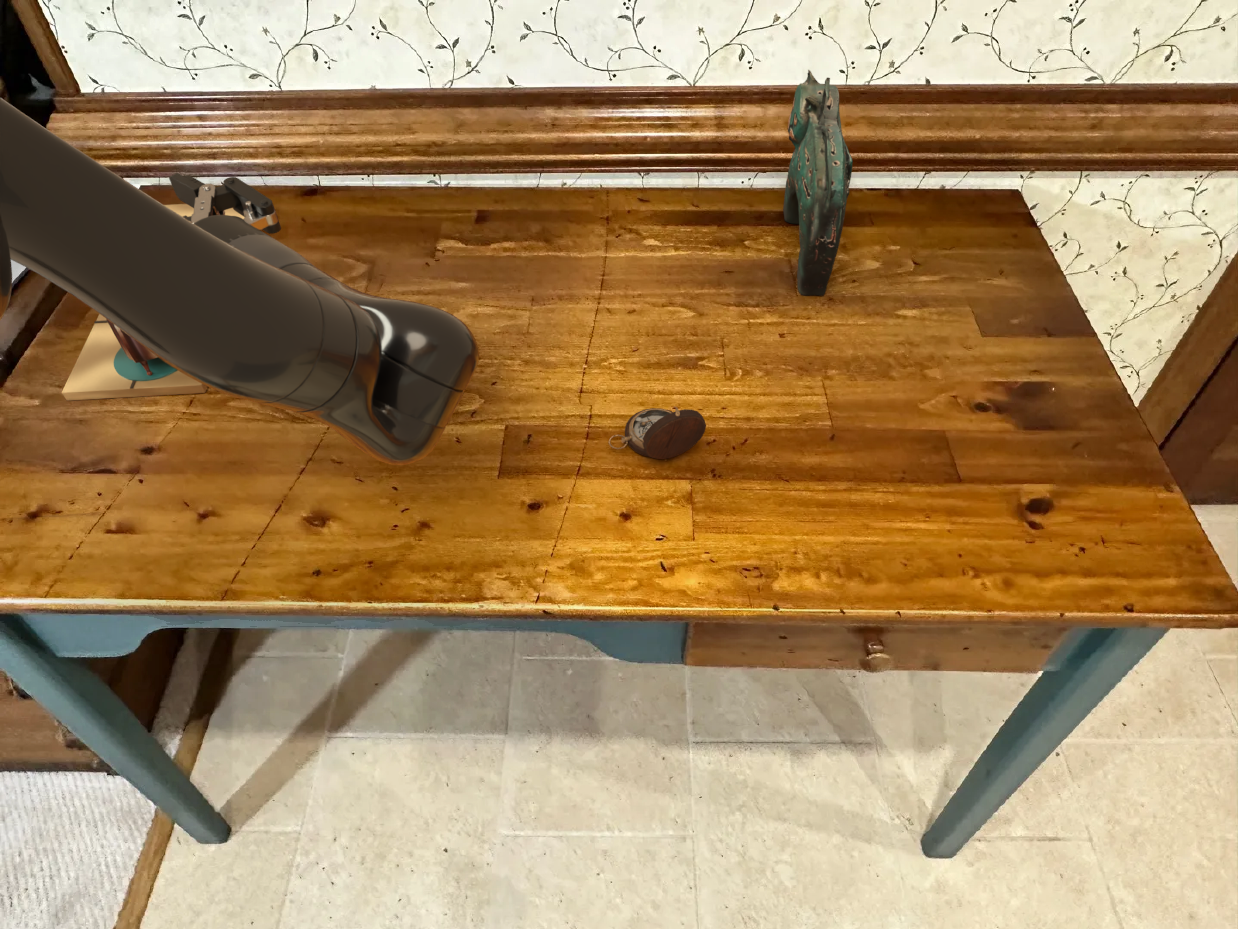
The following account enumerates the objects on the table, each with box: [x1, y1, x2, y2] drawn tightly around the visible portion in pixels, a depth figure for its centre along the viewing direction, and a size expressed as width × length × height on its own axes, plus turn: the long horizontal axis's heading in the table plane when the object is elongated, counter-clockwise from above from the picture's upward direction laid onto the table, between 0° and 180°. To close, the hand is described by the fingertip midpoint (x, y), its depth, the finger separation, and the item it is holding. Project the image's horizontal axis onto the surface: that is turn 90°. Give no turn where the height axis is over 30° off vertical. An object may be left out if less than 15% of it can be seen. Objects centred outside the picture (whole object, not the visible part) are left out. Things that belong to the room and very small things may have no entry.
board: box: [61, 203, 245, 402], centre depth 101 cm, size 34×14×1 cm, turn 4°
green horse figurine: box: [782, 69, 854, 296], centre depth 99 cm, size 20×6×20 cm, turn 178°
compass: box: [608, 406, 707, 460], centre depth 83 cm, size 8×8×7 cm
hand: (129, 207), depth 70 cm, fingers open, 8 cm apart
